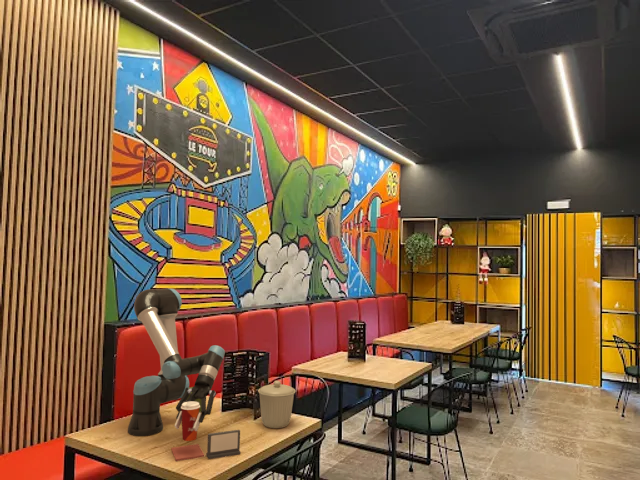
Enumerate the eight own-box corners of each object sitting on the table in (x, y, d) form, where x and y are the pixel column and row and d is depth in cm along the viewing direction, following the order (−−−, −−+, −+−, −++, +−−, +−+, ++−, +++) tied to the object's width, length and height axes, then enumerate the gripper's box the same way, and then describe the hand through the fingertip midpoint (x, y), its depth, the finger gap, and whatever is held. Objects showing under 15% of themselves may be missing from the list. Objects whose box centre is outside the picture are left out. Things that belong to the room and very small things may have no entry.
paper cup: (193, 442, 185) (195, 407, 186) (176, 441, 187) (177, 405, 187) (202, 435, 193) (203, 401, 193) (185, 434, 194) (186, 400, 195)
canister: (275, 416, 238) (277, 374, 239) (302, 424, 227) (303, 380, 228) (249, 425, 224) (250, 380, 225) (275, 434, 213) (277, 387, 214)
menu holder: (206, 455, 188) (207, 432, 189) (237, 450, 194) (238, 428, 194) (208, 459, 185) (209, 436, 185) (240, 454, 190) (241, 431, 191)
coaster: (171, 449, 193) (171, 447, 193) (198, 445, 198) (198, 443, 198) (175, 461, 182) (175, 459, 182) (204, 456, 187) (204, 454, 187)
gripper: (230, 384, 203) (211, 435, 187) (187, 381, 208) (166, 430, 192) (225, 375, 198) (205, 426, 182) (182, 371, 203) (159, 421, 187)
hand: (185, 428), depth 187 cm, fingers closed on paper cup, 8 cm apart
